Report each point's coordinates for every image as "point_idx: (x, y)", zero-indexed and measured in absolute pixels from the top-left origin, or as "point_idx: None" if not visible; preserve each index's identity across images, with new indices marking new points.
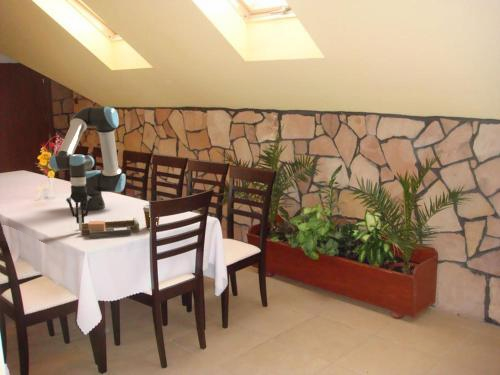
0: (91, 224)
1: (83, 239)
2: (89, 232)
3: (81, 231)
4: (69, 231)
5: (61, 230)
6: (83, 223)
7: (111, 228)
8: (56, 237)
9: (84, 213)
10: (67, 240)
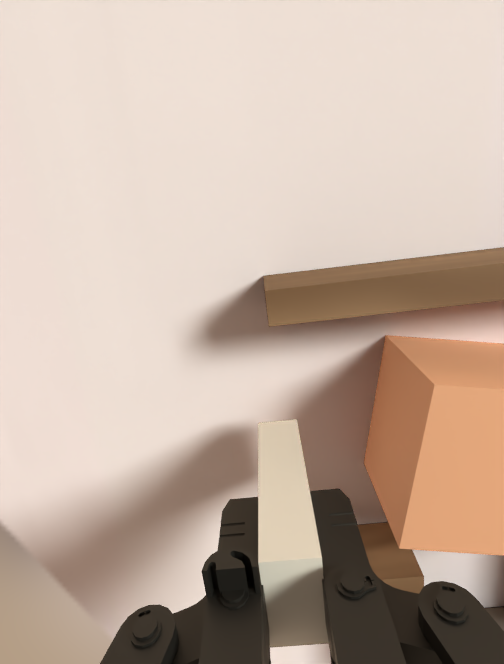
0: (450, 548)
1: (317, 644)
2: None
3: None
4: (136, 359)
5: (23, 297)
6: (316, 285)
7: None
8: (46, 553)
9: (414, 658)
10: None
